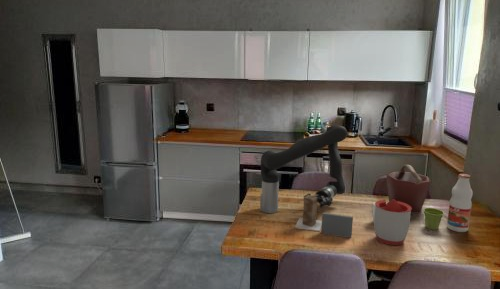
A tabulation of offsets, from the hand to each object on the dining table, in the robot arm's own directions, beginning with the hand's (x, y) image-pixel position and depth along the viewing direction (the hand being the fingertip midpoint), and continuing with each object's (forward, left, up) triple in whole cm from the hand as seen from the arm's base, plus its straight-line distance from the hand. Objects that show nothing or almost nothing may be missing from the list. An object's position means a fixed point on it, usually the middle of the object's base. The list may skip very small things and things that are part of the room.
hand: (312, 203), depth 186 cm
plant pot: (+58, +16, -11) cm, 61 cm away
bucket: (+47, +41, -11) cm, 64 cm away
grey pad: (-1, -3, -10) cm, 11 cm away
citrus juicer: (+37, -6, -11) cm, 39 cm away
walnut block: (-1, -3, -10) cm, 10 cm away
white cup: (+33, +13, -11) cm, 37 cm away
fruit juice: (+70, +19, -11) cm, 74 cm away
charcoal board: (+13, -10, -10) cm, 19 cm away
